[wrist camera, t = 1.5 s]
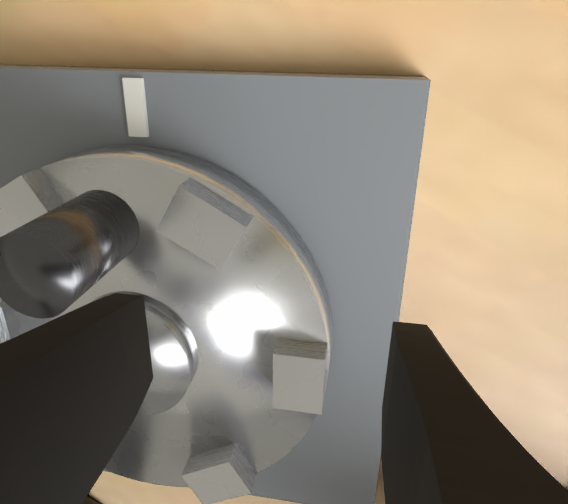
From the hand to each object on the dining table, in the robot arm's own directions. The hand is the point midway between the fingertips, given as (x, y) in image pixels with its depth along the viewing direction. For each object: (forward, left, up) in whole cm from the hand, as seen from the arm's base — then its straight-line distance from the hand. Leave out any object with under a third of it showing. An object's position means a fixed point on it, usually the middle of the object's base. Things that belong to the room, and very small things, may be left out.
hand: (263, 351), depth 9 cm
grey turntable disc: (+6, +6, -9) cm, 12 cm away
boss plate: (+7, +6, -10) cm, 13 cm away
